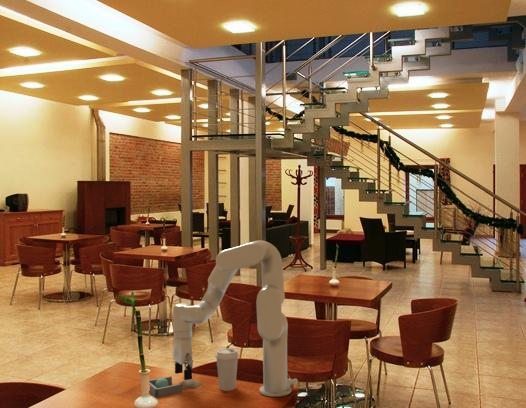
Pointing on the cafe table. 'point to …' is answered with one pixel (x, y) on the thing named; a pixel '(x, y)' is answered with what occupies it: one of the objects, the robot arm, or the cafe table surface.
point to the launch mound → (190, 384)
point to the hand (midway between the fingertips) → (183, 376)
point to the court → (164, 388)
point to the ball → (161, 383)
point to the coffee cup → (227, 368)
